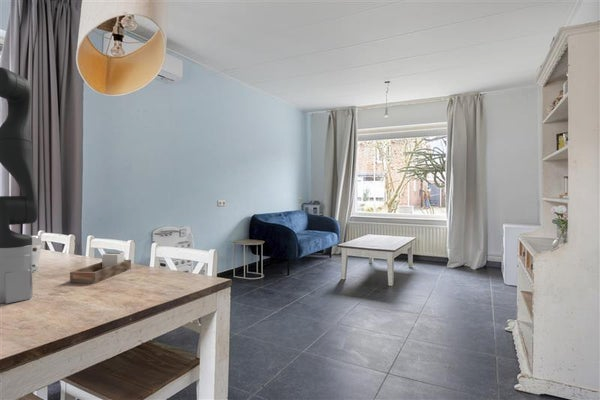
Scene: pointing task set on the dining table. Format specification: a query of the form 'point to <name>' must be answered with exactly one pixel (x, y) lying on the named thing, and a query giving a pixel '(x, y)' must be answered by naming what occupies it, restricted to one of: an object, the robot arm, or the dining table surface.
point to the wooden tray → (98, 272)
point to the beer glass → (35, 252)
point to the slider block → (112, 259)
